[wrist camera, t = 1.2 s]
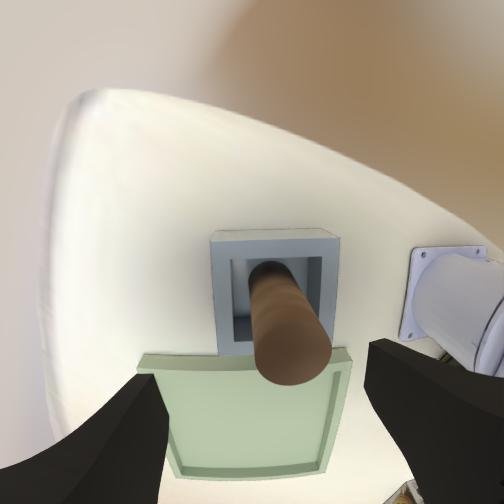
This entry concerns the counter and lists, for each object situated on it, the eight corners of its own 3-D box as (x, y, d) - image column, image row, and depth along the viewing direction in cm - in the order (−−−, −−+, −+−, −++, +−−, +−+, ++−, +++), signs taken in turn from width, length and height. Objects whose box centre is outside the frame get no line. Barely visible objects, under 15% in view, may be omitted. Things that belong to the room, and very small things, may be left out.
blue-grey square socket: (321, 228, 19) (339, 237, 15) (317, 322, 20) (331, 349, 17) (216, 231, 18) (209, 241, 15) (221, 327, 20) (218, 356, 16)
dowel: (293, 259, 19) (335, 318, 10) (292, 301, 19) (327, 381, 11) (247, 261, 19) (253, 324, 10) (248, 303, 19) (255, 388, 10)
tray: (344, 347, 21) (352, 360, 19) (321, 460, 24) (325, 472, 22) (143, 353, 20) (136, 367, 18) (178, 465, 24) (175, 478, 22)
